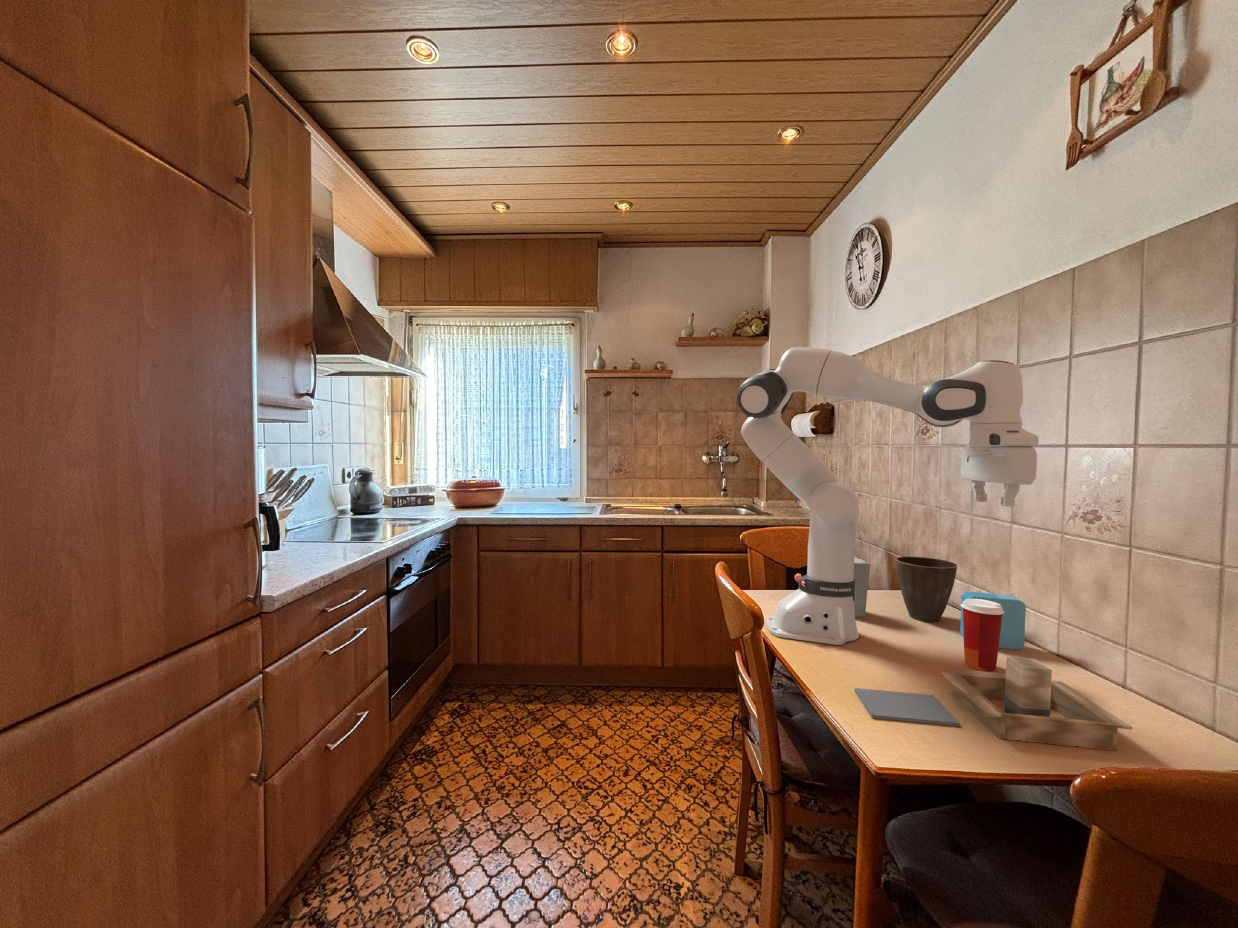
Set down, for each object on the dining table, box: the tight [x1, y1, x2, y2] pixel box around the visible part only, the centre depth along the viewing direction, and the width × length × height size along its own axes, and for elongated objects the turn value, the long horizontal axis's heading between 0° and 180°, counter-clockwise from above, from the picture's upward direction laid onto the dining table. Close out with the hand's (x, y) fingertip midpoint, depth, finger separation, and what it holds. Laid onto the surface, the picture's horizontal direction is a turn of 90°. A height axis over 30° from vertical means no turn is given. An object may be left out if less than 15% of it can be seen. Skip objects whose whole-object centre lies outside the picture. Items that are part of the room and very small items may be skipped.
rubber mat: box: [854, 687, 961, 727], centre depth 91 cm, size 14×10×1 cm
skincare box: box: [854, 556, 871, 618], centre depth 146 cm, size 8×7×16 cm
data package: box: [959, 591, 1027, 651], centre depth 123 cm, size 12×4×12 cm, turn 72°
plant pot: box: [895, 556, 958, 623], centre depth 142 cm, size 15×15×16 cm
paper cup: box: [960, 599, 1004, 672], centre depth 110 cm, size 8×8×14 cm
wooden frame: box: [941, 668, 1133, 752], centre depth 89 cm, size 21×18×4 cm
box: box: [1003, 656, 1053, 717], centre depth 88 cm, size 4×4×10 cm
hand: (993, 504), depth 106 cm, fingers open, 8 cm apart
